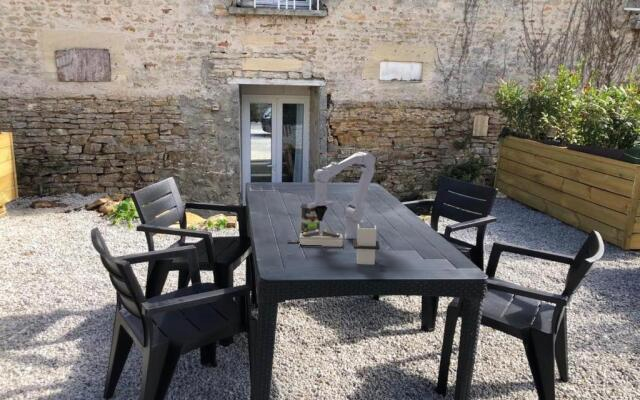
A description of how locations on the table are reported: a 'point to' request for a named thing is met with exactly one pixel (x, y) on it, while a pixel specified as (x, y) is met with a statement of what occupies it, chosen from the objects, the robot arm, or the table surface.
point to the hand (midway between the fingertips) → (320, 220)
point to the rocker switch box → (321, 240)
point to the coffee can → (309, 219)
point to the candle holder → (366, 245)
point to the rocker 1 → (311, 233)
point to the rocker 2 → (330, 233)
